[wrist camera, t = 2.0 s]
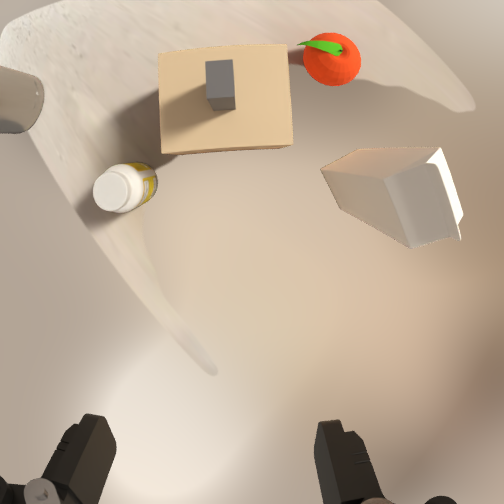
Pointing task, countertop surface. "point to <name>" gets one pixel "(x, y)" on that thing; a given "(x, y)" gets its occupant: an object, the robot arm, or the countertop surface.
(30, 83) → the robot arm
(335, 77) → the clementine
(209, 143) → the lid
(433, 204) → the milk
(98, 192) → the supplement bottle
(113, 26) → the countertop surface
